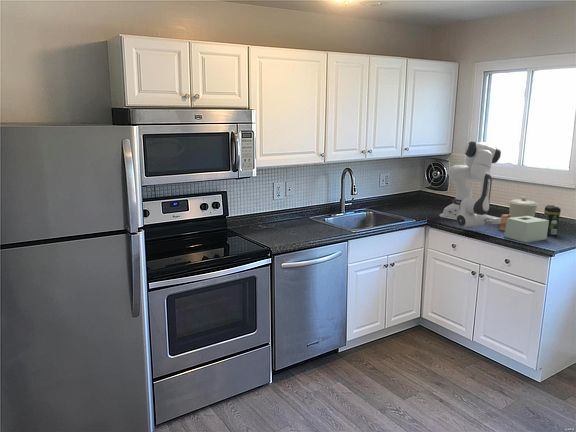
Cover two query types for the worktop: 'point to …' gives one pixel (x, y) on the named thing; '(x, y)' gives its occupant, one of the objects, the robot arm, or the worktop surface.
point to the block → (504, 221)
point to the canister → (522, 207)
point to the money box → (526, 228)
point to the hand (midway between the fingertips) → (493, 217)
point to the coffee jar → (552, 218)
